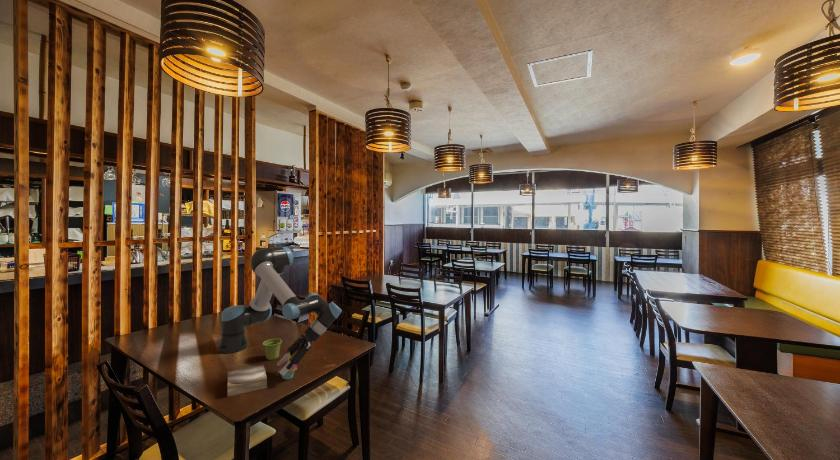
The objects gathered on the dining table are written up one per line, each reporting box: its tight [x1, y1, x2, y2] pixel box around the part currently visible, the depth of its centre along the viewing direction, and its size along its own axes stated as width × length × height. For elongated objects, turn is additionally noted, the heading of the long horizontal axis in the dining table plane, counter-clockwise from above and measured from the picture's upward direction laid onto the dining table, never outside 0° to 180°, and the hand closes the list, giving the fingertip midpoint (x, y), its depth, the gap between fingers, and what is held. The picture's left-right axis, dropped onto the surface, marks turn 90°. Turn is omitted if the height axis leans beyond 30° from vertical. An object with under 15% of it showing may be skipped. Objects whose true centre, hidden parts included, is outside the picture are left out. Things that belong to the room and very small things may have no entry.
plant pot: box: [262, 338, 283, 361], centre depth 171 cm, size 9×9×9 cm
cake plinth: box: [227, 364, 268, 398], centre depth 144 cm, size 15×15×5 cm
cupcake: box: [277, 350, 298, 380], centre depth 151 cm, size 9×8×12 cm
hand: (280, 369), depth 149 cm, fingers closed on cupcake, 8 cm apart
